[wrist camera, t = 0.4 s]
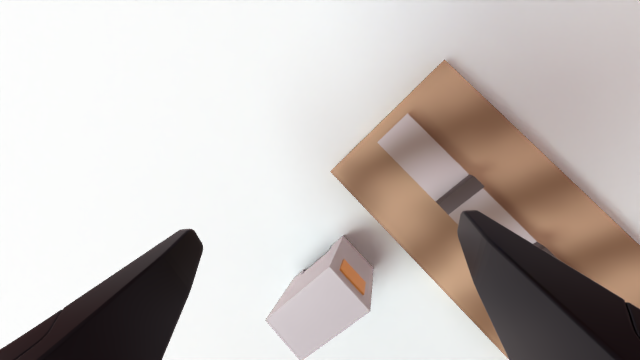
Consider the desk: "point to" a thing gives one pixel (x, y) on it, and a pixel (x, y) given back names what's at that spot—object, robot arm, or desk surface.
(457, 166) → the rail base
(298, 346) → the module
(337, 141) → the desk surface
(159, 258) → the robot arm
